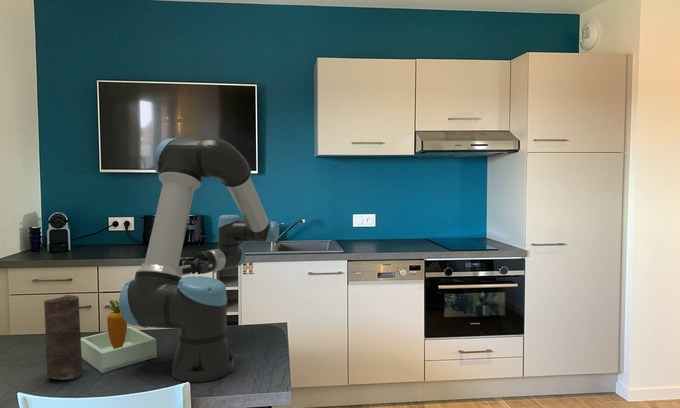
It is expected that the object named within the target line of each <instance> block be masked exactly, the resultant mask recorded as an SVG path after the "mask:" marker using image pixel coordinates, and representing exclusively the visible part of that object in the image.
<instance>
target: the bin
mask: <svg viewBox="0 0 680 408" xmlns="http://www.w3.org/2000/svg"><path fill="white" fill-rule="evenodd" d="M81 354H82V360H84V361H85V362H86V363H88V364H89V365H90V366H92V367H93V368H95V369H96V370H97V371H99V372H100V373H102V374H105V373H108V372H110V371H114V370H117V369H121V368H124V367H125V368H126V367H128V366H132V365H134V364H137V363H141V362H145V361H148V360H151V359H154V358H157V357H158V356H157V338H155V337H153V336H151V335H150V334H147V333H144V332H143V331H141V330H139V329H137V328H135V327H134V326H132V325H130V326H127V331H126V337H125V341H124V344H123V347H120V348H116V349H114V348H113V347H112V345H111V342H110V338H109V334H108V331H105V332H101V333H98V334H93V335H89V336H84V337H81Z"/></svg>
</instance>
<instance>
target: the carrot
mask: <svg viewBox="0 0 680 408" xmlns="http://www.w3.org/2000/svg"><path fill="white" fill-rule="evenodd" d="M109 304H110V305H111V306H110V307H109V310H111V311H112V312H109V314H108V315H107V317H106V322H107V332H108V334H109V338H110V342H111V345H112V347H113V348H114V349H116V348H120V347H123V344H124V341H125V337H126V331H127V327H128V323H127V322H126V321H125V320H124V319H123V317H122V314H121V312H120V308H119V299H118V300H117V299H116V300H114V299H110V300H109Z"/></svg>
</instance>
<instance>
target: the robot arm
mask: <svg viewBox="0 0 680 408" xmlns="http://www.w3.org/2000/svg"><path fill="white" fill-rule="evenodd" d="M153 163H154V165H153V167H154V170H155V172H156V174H157V175H158V179H159V181H160V183H161V184H162V186H161V190H160V194H159V195H160V196H159V199H158V203H157V209H156V212H155V216H154V221H153V226H152V228H151V229H152V230H151V234H150V238H149V243H148V246H147V251H146V255H145V260H144V262H143V263H141V268H139V269H138V270H136V272H135V275H134V279H131V280H129V281H127V282H125V283H124V285H123V286H122V288H121V290H120V293H119V299H118V302H119V308H120V312H121V314H122V317H123V319H124V320H125V321H126V322H127V325H128V324H129V325H130V326H132V327H134V326H135V327H141V328H144V329H145V328H146V329H147V328H157V329H174V330H176V329H177V330H178V336H179V337H178V345H177V348H176V351H175V354H174V358H173V361H172V363H171V375H172V377H173V378H174V379H176V380H178V381H181V382H185V383H203V382H204V383H205V382H210V381H214V380H217V379H221V378H224V377H226V376H227V375H229V374H231V372H232V371H233V370H234V368H235V361H234V355H233V353H232V350H231V346H230V344H229V341H228V337H227V336H228V335H227V331H228V329H227V327H228V323H227V322H228V321H227V320H228V316H227V315H228V309H227V307H228V297H227V288H226V284H225V283H224V282H222V281H221V280H220V279H217V278H213V277H210V276H201V275H203V274H208V273H212V272H213V273H214V274H215V273H217V271H222V270H227V269H235V268H237V267H239V266H241V265H243V264H244V262H245V260H246V253H245V250H244V248H242V247H241V246H240V242H246V243H247V242H249V243H252V242H253V243H275V242H277V241H278V239H279V235H280V227H279V223H278V222H277V221H273V220H269V219H268V217H267V214H266V211H265V210H264V206H263V204H262V202H261V200H260V197H259V195H258V192H257V190H256V188H255V186H254V183H253V181H252V178H251V176H252V171H251V167H250V165H249V163H248V161H247V160H246V159H245V157H244V156H243V154H242V153H241V152H240V151H239V150H238V149H237V148H235V146H233V145H232V144H230V143H229V142H227V141H225V140H223V139H221V138H219V137H218V138H217V137H183V136H182V137H181V136H179V137H173V138H167V139H163V140H162V141H160V143H159V144H158V145H157V147H156V149H155V151H154V156H153ZM205 178H206V179H209V178H214V179H217V180H219V181H220V182H221V184H222V185H223V186H224V187H226V188H227V189H228V191H229V193H230V194H231V196H232V199H233V201H234V203H235V204H236V207H237V208H238V211H239V212H240V214H241V217H242V219H243V220H241V219H240V216H239V215H237V214H236V215H235V214H223V215H220V216H219V217H218V221H217V222H218V223H217V244H218V245H217V249H210V250H205V251H204V250H203V251H198V252H197V253H195V255H194V256H193V257H188V258H186V257H182V258H181V256H182V251H183V246H184V241H185V236H186V232H187V227H188V222H189V218H190V217H189V216H190V212H191V208H192V201H193V197H194V192H195V190H197V189H199V188H200V187H201V185H202V179H205ZM191 274H193V275H191ZM194 274H197V275H198V276H194ZM187 275H191V276H187ZM199 275H200V276H199ZM183 276H185V277H183Z"/></svg>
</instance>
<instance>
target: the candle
mask: <svg viewBox="0 0 680 408" xmlns="http://www.w3.org/2000/svg"><path fill="white" fill-rule="evenodd" d="M79 298H80V297H79V296H78V295H75V294H65V295H63V296H61V297H60V296H59V297H56V298H53V299H52V298H50V299H46V300H44V302H43V304H44V305H43V306H44V327H45V330H44V331H45V354H46V355H45V356H46V357H45V358H46V376H47V378H49V379H54V380H61V381H62V380H63V381H64V380H74V379H77V378H79V377H80V376H82V374H83V359H82V354H81V338H82V337H81V321H80V320H81V317H80V299H79Z"/></svg>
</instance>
